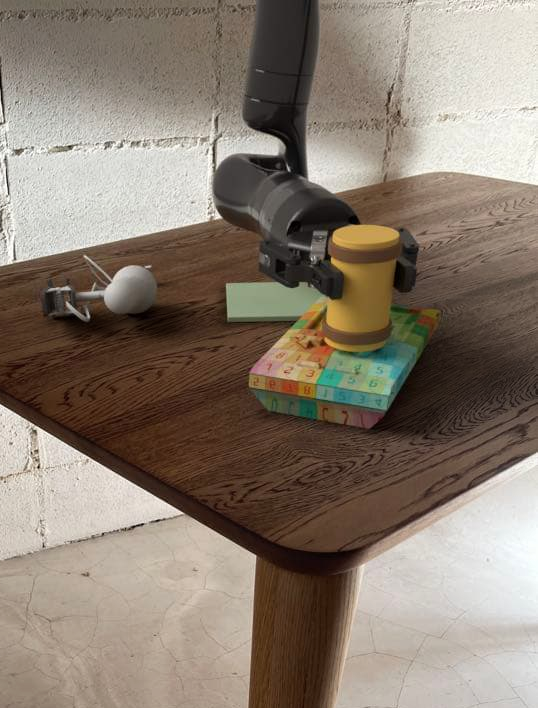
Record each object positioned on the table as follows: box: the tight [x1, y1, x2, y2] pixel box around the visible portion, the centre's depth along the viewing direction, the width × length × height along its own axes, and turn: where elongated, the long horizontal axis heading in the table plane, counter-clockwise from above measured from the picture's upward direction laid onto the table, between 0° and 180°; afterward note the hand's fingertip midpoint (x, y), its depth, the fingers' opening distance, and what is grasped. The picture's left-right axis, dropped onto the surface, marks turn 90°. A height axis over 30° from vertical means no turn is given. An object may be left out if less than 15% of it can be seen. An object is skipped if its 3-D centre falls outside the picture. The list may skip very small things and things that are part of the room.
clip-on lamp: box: [40, 254, 158, 323], centre depth 96 cm, size 12×6×18 cm
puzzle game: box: [247, 295, 442, 430], centre depth 79 cm, size 12×5×20 cm
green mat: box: [225, 281, 327, 323], centre depth 97 cm, size 11×11×1 cm
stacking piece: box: [322, 224, 403, 352], centre depth 72 cm, size 6×6×9 cm
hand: (374, 284), depth 70 cm, fingers closed on stacking piece, 5 cm apart
